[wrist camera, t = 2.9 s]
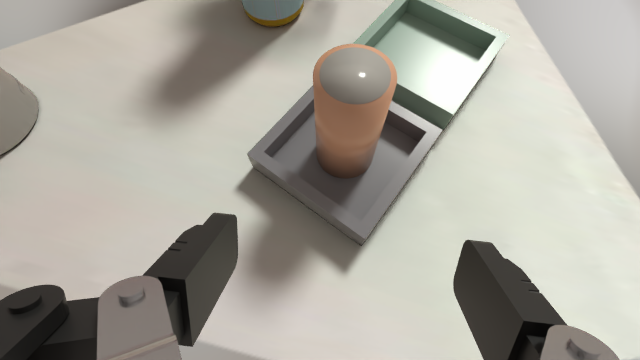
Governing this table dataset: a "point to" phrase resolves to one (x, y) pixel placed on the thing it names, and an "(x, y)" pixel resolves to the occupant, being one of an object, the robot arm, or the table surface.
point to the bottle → (272, 11)
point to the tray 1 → (339, 193)
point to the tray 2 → (433, 55)
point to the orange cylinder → (351, 106)
